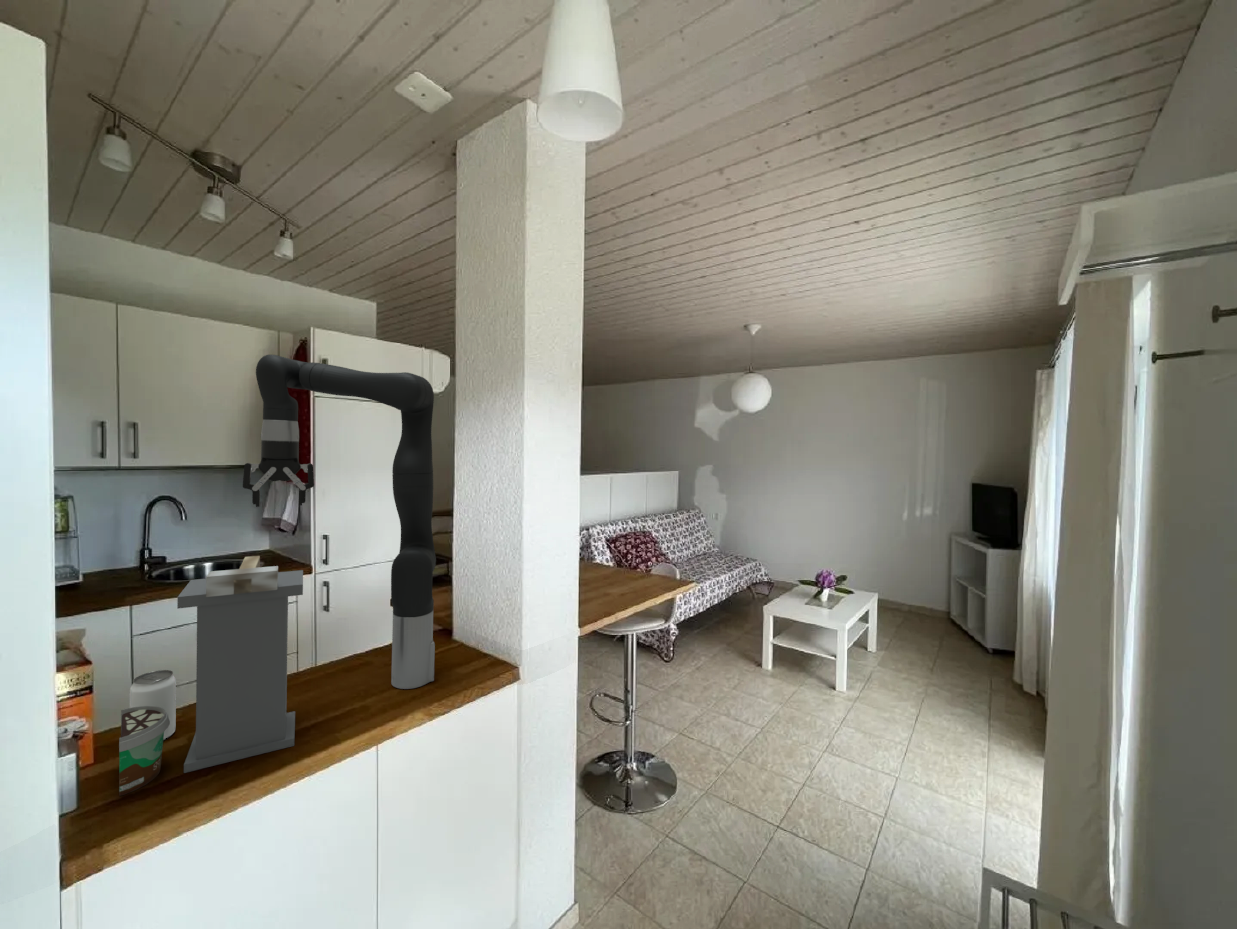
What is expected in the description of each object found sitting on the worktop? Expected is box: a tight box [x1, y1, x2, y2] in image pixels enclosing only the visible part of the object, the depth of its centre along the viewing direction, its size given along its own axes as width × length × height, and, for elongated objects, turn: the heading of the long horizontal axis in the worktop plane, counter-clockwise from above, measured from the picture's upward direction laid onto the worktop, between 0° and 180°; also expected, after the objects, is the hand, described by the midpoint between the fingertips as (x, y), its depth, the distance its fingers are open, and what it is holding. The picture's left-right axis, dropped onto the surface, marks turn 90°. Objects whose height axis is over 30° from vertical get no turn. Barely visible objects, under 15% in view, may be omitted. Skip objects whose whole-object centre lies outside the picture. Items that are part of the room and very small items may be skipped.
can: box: [129, 669, 177, 741], centre depth 95 cm, size 6×6×12 cm
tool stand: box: [176, 569, 304, 774], centre depth 94 cm, size 18×12×31 cm, turn 123°
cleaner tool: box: [205, 555, 279, 597], centre depth 95 cm, size 10×20×4 cm, turn 33°
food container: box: [118, 706, 170, 797], centre depth 85 cm, size 12×6×10 cm, turn 44°
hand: (279, 505), depth 120 cm, fingers open, 8 cm apart
